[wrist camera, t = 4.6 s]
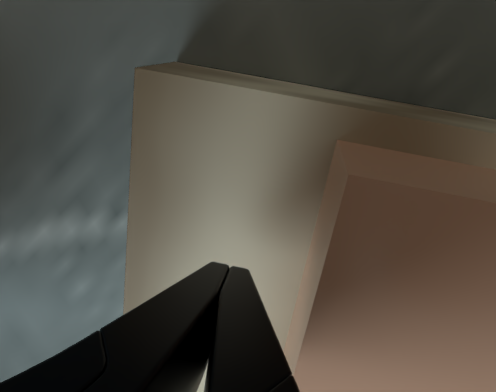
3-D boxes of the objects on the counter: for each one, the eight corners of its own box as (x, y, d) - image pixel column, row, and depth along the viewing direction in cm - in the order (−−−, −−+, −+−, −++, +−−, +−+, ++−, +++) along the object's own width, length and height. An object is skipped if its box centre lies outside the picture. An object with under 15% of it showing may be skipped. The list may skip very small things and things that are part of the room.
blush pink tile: (281, 358, 11) (275, 440, 9) (336, 139, 9) (348, 174, 6) (513, 411, 11) (569, 511, 8) (640, 196, 8) (768, 255, 6)
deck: (141, 460, 18) (112, 535, 16) (175, 61, 12) (134, 67, 9) (397, 524, 18) (415, 614, 15) (596, 137, 11) (698, 170, 8)
